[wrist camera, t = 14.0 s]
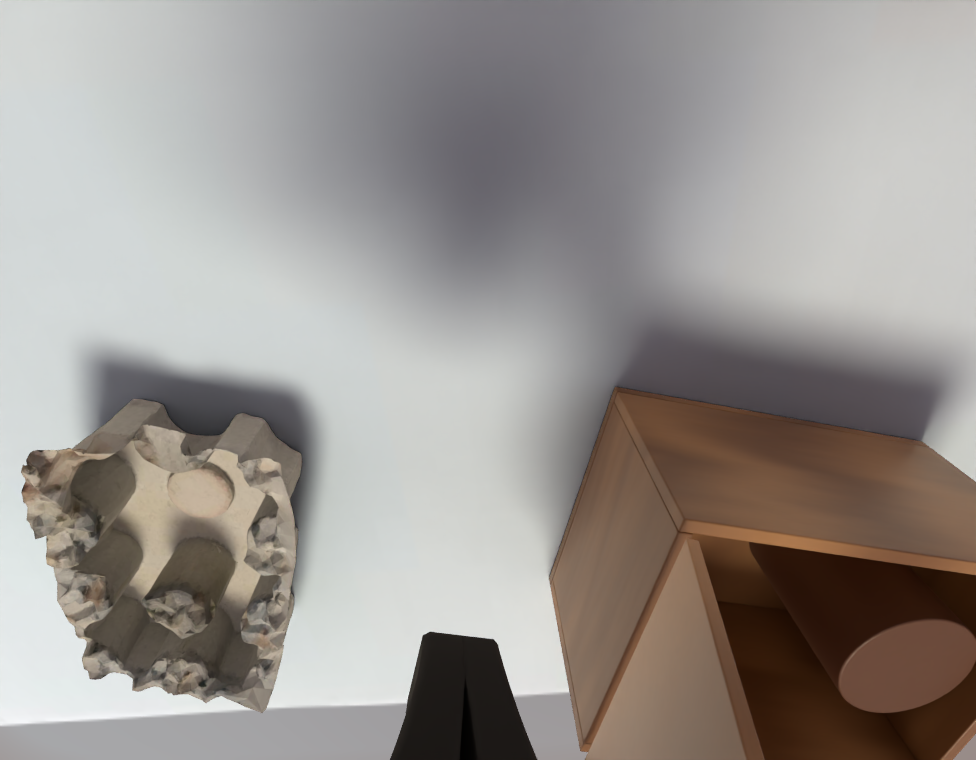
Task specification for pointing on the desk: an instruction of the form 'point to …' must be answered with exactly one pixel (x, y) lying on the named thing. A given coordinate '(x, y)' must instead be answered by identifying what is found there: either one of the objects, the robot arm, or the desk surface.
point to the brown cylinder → (871, 626)
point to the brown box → (736, 574)
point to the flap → (680, 681)
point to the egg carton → (173, 550)
